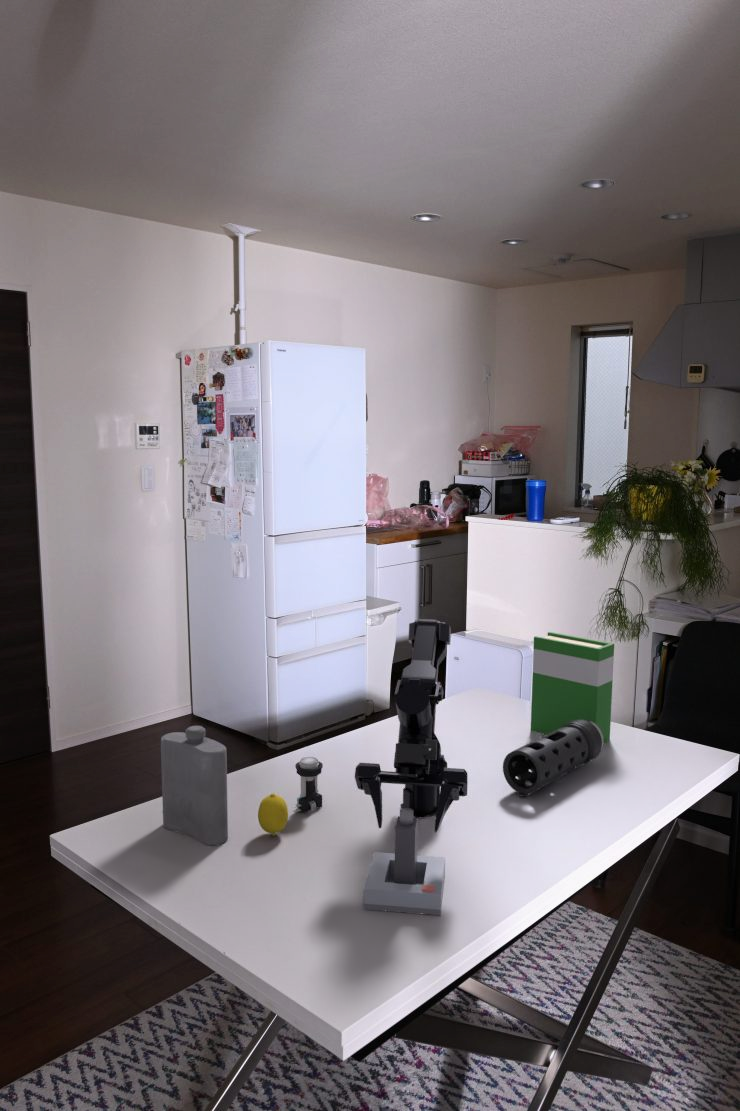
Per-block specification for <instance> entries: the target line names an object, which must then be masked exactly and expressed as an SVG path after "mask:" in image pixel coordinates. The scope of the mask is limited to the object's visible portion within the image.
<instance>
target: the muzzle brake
mask: <svg viewBox="0 0 740 1111" xmlns="http://www.w3.org/2000/svg"><path fill="white" fill-rule="evenodd" d="M603 742H604V741H603V734H602V732H601V730H600V728H599V727H598V726H597V725H596V724H595V723H593V722H592V721H589V720H583V719H576V720H572V721H570V722H568V723H566V724H565V725H563V726H562V727H561V728H559V729H557V730H555V731H553V732H551V733H549V734H547V735H545V734H544V735H542V736H541V737H539V738H537V739H535V740H532V741H531V742H528V743H526V744H524V745H523V746H521V747H518V748H517V749H514V750H513V751H511V752H509V753H508V754H506V756H505V757H504V759H503V762H502V773H503V775H504V776H503V777H504V779H505V781H506V783H507V784H508V785H509V786H510V788H511V789H513V790H514V791H515V792H517V793H518V795H519V796H520V797H524V798H525V797H527V796H528V795H530V794H533V793H535V792H536V791H537V790H540V789H541V788H543V787H545V786H547V785H549V784H550V783H552V782H553V781H555V780H557V779H559V778H561V777H563V776H564V775H565V774H569V773H571V772H572V771H574V770H576V769H577V768H578V767H580V766H583V765H586V764H588V763H590V762H591V761H593V760H594V759H597V758H598V757H599V755H600V754H601V751H602V749H603V746H604V743H603Z"/></svg>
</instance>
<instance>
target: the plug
mask: <svg viewBox="0 0 740 1111" xmlns="http://www.w3.org/2000/svg"><path fill="white" fill-rule="evenodd" d="M413 813H414V811H413V810H412V809H410V808H401V809H399V815H398V816H397V819H396V823H395V827H394V854H395V872H394V883H397V884H410V885H416V882H417V855H418V829H419V828H418V826H419V824H418V819H419V818H417V817H414V816H413Z"/></svg>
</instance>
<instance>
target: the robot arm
mask: <svg viewBox="0 0 740 1111" xmlns="http://www.w3.org/2000/svg"><path fill="white" fill-rule="evenodd" d="M451 631H452V630H451V625H450V624H447V623H446V622H441V621H440V620H437V619H429V618H426V619H425V618H418V619H416V620H414V622H410V623H409V624H408V643H409V644H411V647H412V656H411V662H410V664H409V665H407V666H405V667H404V668H403V670H402V673H401V679H398V680H397V682H396V686H395V689H394V690H395V691H394V694H393V696H394V698H393V699H394V703H395V706H396V711H397V718H398V722H399V727H398V740H397V742H396V743H395V750H394V751H395V752H394V758H393V759H394V760H393V767H394V769H395V771H386V770H385V771H384V770H381V766H380V763H374V762H373V763H372V762H359V763H358V764H357V765H356V766H355V769H354V770H355V771H354V780H355V784H356V787H357V789H358V790H361V791H363V792H364V794H365V795H367V796H370V798H371V801H372V803H373V807H374V811H375V815H376V816H375V817H376V821H377V825H378V826H377V827H378V829H382V827H383V826H382V825H383V791H382V784H394V785H395V784H397V785H404V788H402V789H403V790H402V803H400V807H401V809H403V808H410V809H412V810H413V811H414V813H413V817H417V818H418V819H421V818H425V817H426V818H427V817H430V816H433V815H436V816H435V820H434V833H438V831H439V829H440V827H441V825H442V822H443V820H444V817H445V816H446V814H447V811H448V810H449V809H450V808H451V805H452V804H453V802H455V801H460V797H466V796H468V782H469V781H468V779H469V778H468V771H467V770H466V769H465V768H455V767H453V768H452V767H448V762H447V761H446V758H445V755H444V754H442V747H441V743H440V741H439V739H438V737H437V735H436V734H435V730H436V728H435V727H436V711H437V705H439V703H440V702H442V701H443V698H444V688H443V686H442V683H441V681H438V675H439V666H440V664H441V663H442V661H444V659H445V658H446V656H447V652H448V645H449V646H450V645H451V642H452V641H451V636H452V634H451Z"/></svg>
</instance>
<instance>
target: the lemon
mask: <svg viewBox="0 0 740 1111" xmlns="http://www.w3.org/2000/svg"><path fill="white" fill-rule="evenodd" d="M257 819H258V824H259V825H260V826H259V827H261V828H262V830H263V831H265V832H266V833H268V834H270V835H271V836H275V835H277V834H278V833H279V832H281V831H283V829H284V828H285V827H286V825H287V824H288V820H289V810H288V805H287V802H286V801H285V799H284V798H283V797H281V796H280V795H278V794H275V793H271V794H270V795H267V796H265V797H264V798H263V799H262V800H261V802H260V803H259V807H258V810H257Z"/></svg>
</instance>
